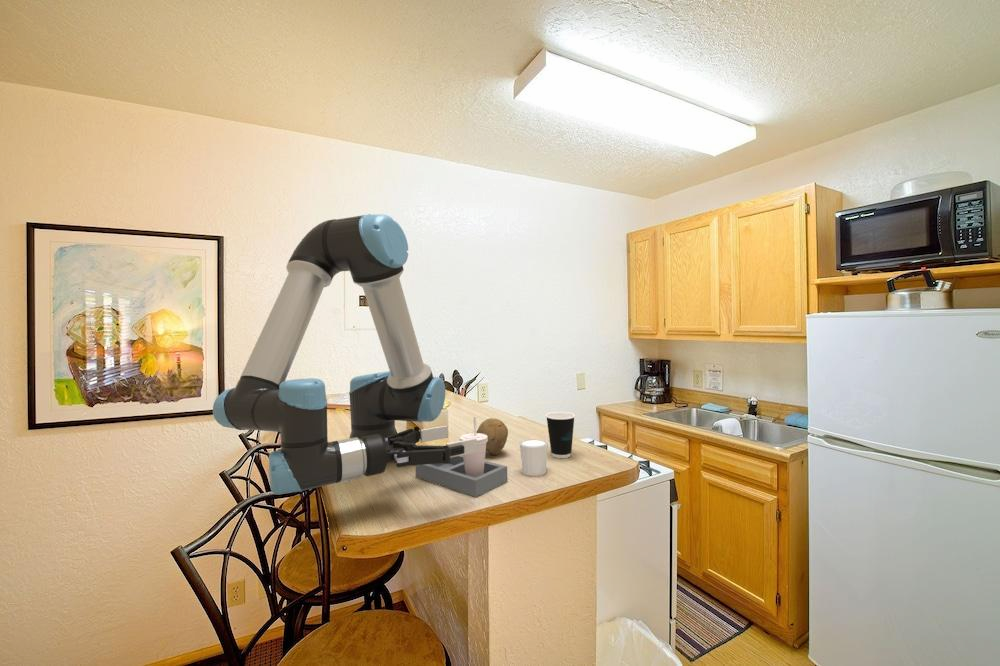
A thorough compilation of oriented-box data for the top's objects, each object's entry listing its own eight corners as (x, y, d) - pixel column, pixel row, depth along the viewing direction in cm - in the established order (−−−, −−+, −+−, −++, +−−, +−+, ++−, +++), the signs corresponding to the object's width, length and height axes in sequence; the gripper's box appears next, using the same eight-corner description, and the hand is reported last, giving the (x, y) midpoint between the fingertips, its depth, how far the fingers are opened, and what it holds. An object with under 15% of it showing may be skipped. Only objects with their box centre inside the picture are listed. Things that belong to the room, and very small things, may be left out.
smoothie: (494, 478, 92) (493, 416, 92) (473, 487, 88) (471, 422, 88) (475, 472, 97) (474, 413, 97) (454, 480, 92) (452, 417, 92)
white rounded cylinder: (547, 477, 95) (546, 447, 95) (518, 476, 96) (517, 446, 96) (549, 467, 102) (549, 439, 102) (522, 466, 103) (521, 438, 103)
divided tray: (415, 477, 98) (415, 462, 98) (448, 464, 106) (447, 451, 106) (476, 497, 85) (475, 480, 85) (507, 481, 93) (507, 466, 93)
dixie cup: (572, 461, 105) (571, 419, 105) (542, 458, 108) (541, 417, 108) (579, 452, 112) (578, 412, 112) (551, 449, 116) (550, 411, 115)
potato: (474, 460, 108) (473, 422, 108) (476, 450, 117) (475, 415, 117) (509, 459, 109) (507, 421, 108) (508, 449, 117) (507, 414, 117)
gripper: (347, 459, 89) (437, 442, 101) (381, 498, 68) (490, 470, 80) (346, 425, 89) (436, 411, 100) (380, 453, 68) (489, 432, 79)
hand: (460, 437), depth 90 cm, fingers open, 13 cm apart
